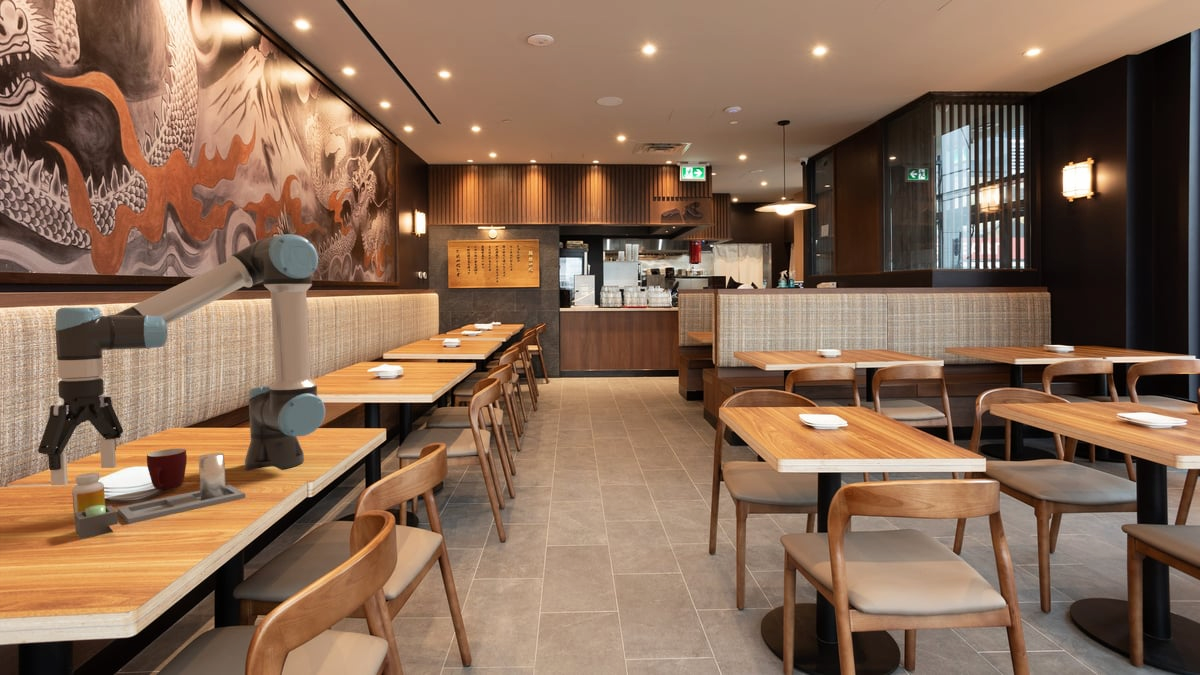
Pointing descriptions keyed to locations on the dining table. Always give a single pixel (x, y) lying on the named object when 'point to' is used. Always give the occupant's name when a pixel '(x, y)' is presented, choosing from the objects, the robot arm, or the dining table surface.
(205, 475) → the seated billet
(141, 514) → the grey slotted tray
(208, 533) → the dining table surface
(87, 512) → the light green egg
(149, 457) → the mug
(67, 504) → the dining table surface
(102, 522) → the grey square holder
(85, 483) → the supplement bottle
